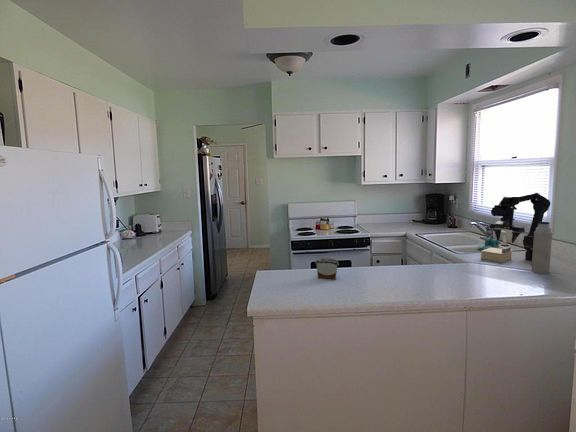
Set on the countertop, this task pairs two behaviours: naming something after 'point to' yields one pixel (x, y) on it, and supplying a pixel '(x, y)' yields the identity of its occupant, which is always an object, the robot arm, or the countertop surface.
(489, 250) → the carton lid
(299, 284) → the countertop surface
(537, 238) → the thermos bottle
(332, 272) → the food container
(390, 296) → the countertop surface
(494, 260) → the carton
